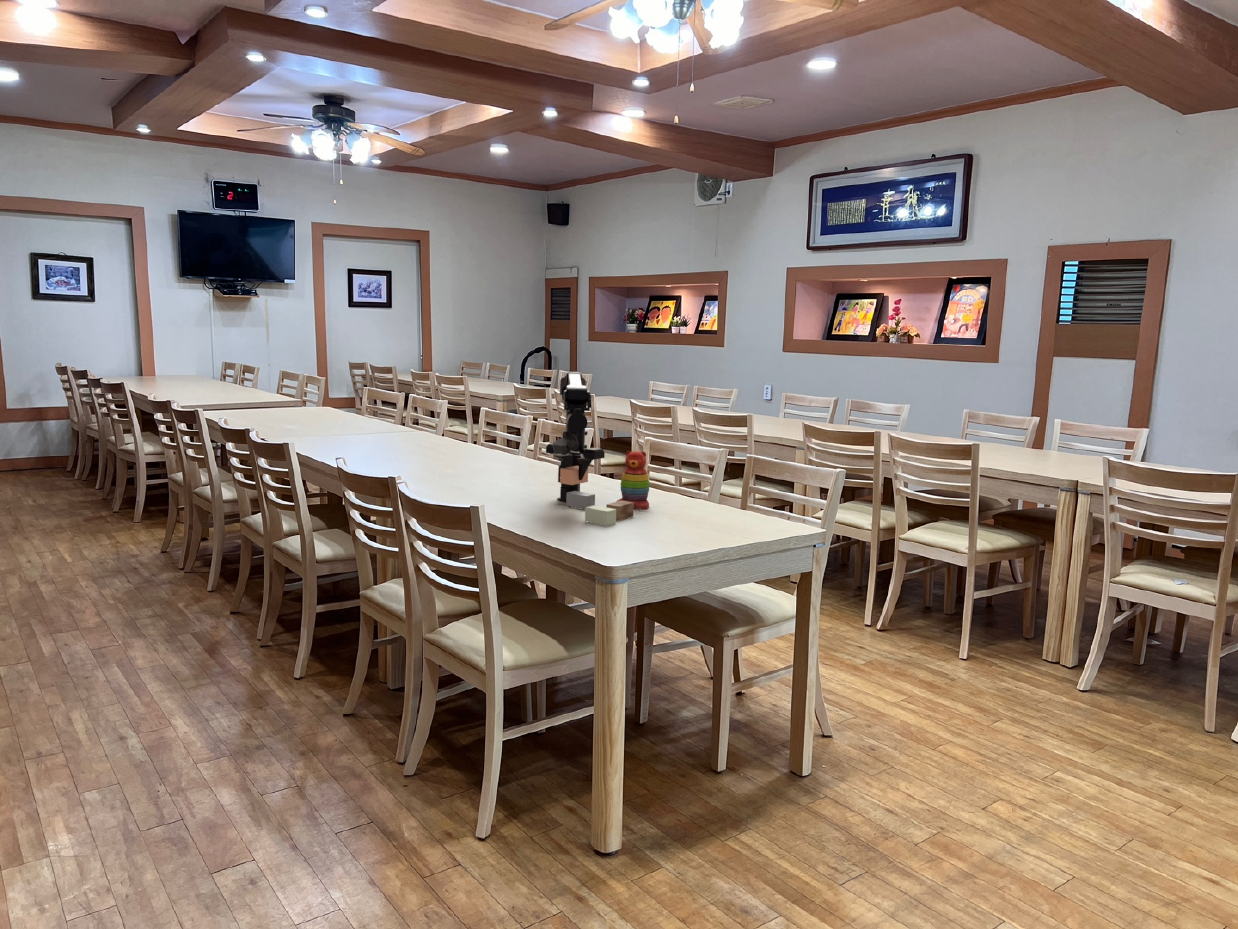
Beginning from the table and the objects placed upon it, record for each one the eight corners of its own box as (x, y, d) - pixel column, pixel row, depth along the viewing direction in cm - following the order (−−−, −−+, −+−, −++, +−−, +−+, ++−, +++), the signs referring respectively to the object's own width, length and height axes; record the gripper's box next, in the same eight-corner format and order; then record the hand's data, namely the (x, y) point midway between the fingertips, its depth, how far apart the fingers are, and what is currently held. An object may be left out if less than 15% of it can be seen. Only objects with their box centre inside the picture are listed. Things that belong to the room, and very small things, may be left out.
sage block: (584, 522, 258) (585, 507, 257) (593, 520, 261) (594, 505, 261) (606, 526, 253) (607, 511, 252) (615, 524, 257) (616, 509, 256)
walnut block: (621, 514, 270) (621, 500, 269) (633, 517, 267) (633, 502, 267) (606, 518, 263) (606, 504, 263) (618, 521, 261) (618, 506, 260)
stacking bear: (613, 506, 281) (615, 451, 278) (622, 501, 290) (624, 448, 287) (645, 510, 278) (648, 454, 275) (653, 504, 287) (656, 450, 284)
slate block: (566, 506, 279) (566, 492, 279) (574, 504, 283) (575, 490, 282) (586, 510, 275) (586, 496, 274) (594, 508, 278) (595, 494, 278)
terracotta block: (576, 480, 272) (576, 465, 271) (587, 481, 270) (588, 467, 269) (560, 483, 266) (560, 468, 265) (571, 485, 263) (572, 470, 262)
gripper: (534, 427, 264) (533, 478, 266) (583, 433, 253) (582, 486, 256) (558, 424, 273) (556, 474, 275) (606, 430, 262) (604, 481, 265)
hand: (574, 479), depth 267 cm, fingers closed on terracotta block, 4 cm apart
